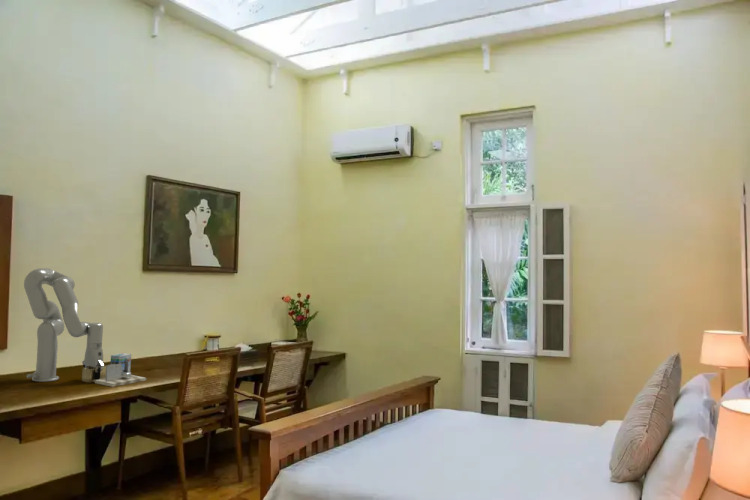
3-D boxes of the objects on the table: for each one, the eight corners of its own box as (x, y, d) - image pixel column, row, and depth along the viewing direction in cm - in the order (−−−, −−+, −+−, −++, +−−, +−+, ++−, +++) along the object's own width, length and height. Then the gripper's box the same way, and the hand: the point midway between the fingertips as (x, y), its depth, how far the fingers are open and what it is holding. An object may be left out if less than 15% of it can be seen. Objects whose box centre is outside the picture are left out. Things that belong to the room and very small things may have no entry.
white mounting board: (112, 386, 311) (112, 383, 311) (94, 383, 318) (94, 380, 318) (145, 380, 331) (146, 377, 331) (128, 377, 337) (128, 374, 337)
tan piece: (89, 382, 318) (90, 369, 318) (81, 380, 321) (82, 367, 321) (111, 378, 331) (112, 366, 331) (104, 377, 334) (104, 364, 334)
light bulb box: (119, 375, 342) (120, 356, 342) (109, 373, 343) (110, 355, 343) (130, 371, 352) (131, 353, 353) (120, 370, 354) (121, 352, 354)
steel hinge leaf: (109, 382, 315) (110, 362, 315) (102, 380, 317) (103, 361, 317) (133, 378, 328) (134, 359, 329) (126, 376, 331) (127, 357, 331)
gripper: (111, 346, 323) (108, 379, 323) (89, 343, 331) (87, 375, 331) (99, 348, 316) (96, 381, 316) (77, 344, 324) (75, 377, 324)
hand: (92, 378), depth 323 cm, fingers open, 7 cm apart
